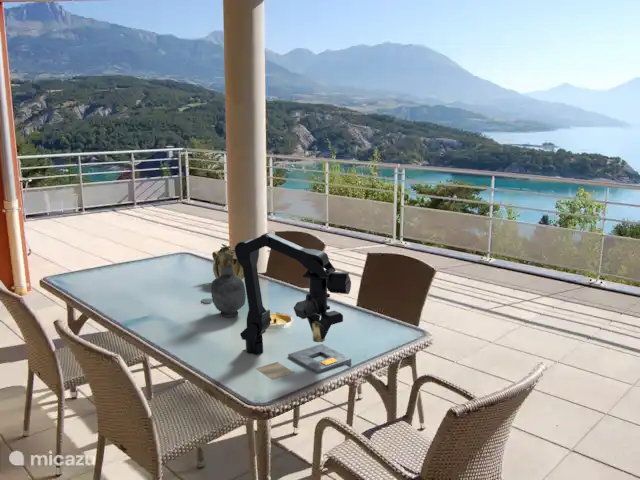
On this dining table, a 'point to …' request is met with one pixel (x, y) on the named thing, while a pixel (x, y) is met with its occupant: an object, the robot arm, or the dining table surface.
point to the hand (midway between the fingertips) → (318, 336)
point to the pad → (275, 370)
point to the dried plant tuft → (236, 267)
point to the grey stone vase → (227, 285)
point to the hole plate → (330, 362)
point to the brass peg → (316, 332)
